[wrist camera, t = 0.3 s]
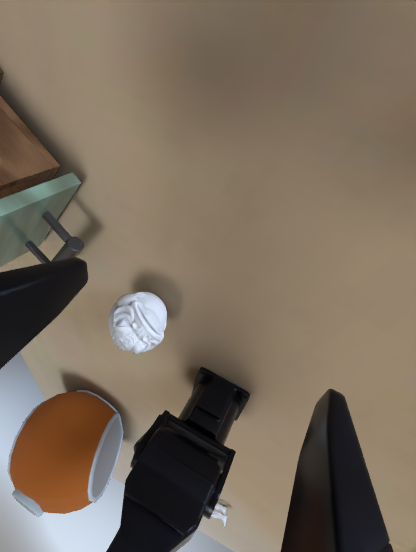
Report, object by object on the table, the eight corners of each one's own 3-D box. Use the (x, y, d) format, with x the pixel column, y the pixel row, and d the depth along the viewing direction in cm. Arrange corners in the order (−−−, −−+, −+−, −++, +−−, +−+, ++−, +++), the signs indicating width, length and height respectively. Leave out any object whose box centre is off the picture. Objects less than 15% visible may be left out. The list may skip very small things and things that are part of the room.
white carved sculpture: (195, 316, 32) (158, 365, 27) (154, 327, 36) (115, 371, 31) (161, 269, 30) (115, 312, 25) (123, 287, 35) (77, 326, 30)
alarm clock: (56, 363, 57) (-39, 451, 44) (133, 406, 52) (50, 519, 39) (76, 415, 69) (5, 496, 56) (140, 454, 63) (78, 553, 51)
